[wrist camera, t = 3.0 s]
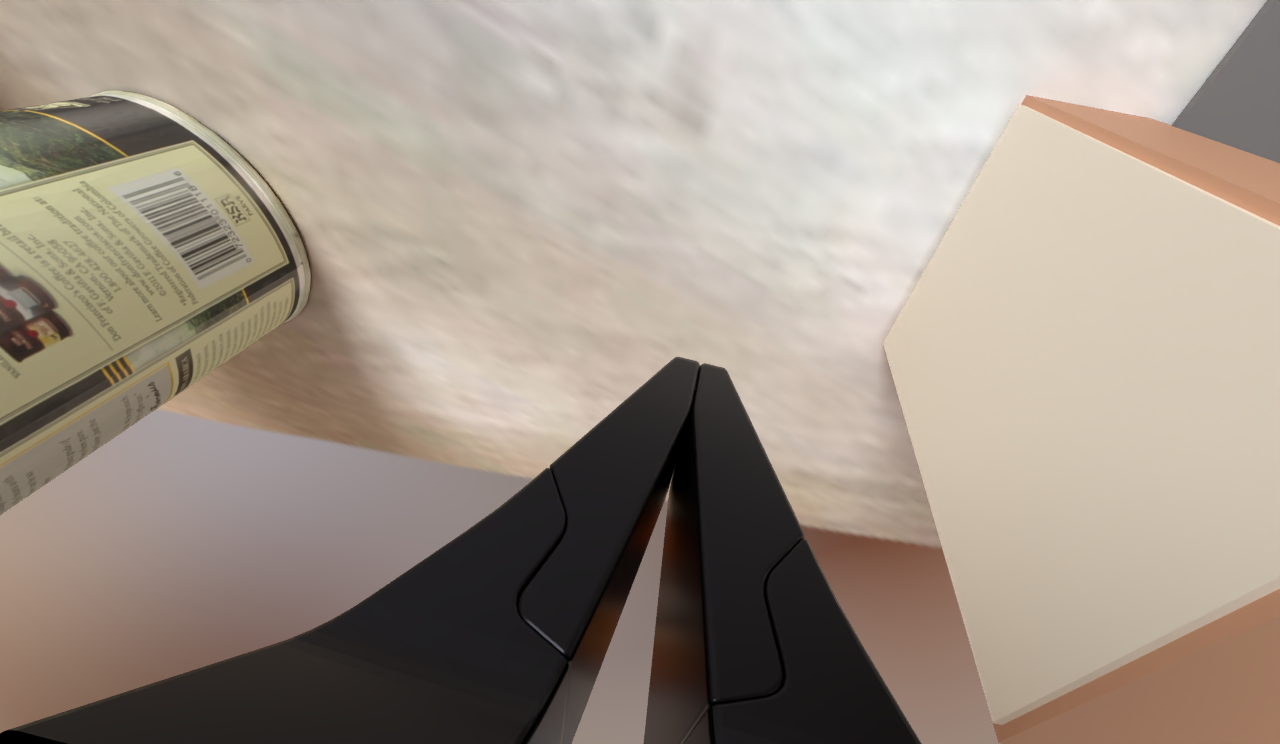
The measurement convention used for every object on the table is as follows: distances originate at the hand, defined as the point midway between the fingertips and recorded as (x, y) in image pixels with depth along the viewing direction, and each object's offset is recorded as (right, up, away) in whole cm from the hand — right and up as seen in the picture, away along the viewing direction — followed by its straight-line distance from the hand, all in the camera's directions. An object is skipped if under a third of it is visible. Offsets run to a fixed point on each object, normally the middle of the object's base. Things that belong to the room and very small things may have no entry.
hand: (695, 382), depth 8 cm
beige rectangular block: (+10, +4, +7) cm, 12 cm away
